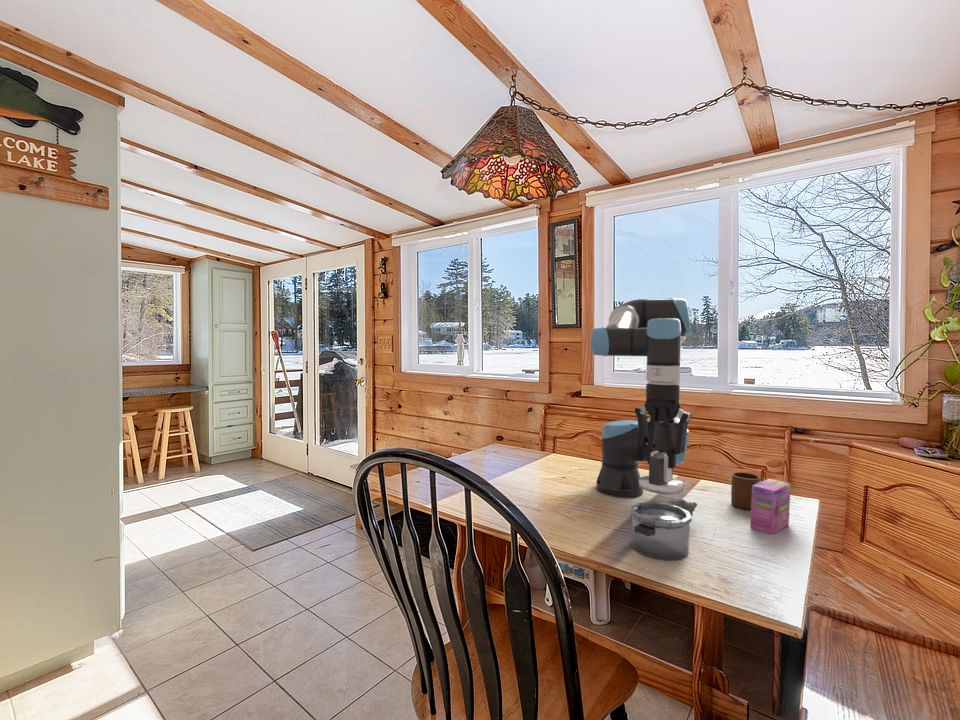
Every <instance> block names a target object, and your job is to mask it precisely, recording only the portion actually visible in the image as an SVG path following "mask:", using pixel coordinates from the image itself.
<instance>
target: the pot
mask: <svg viewBox="0 0 960 720" xmlns="http://www.w3.org/2000/svg"><path fill="white" fill-rule="evenodd" d="M630 516H631V548H632V549H633V550H634V551H636V552H637V553H638V554H640V555H641V556H644V557H647V558H650V559H654V560H661V561H669V562H670V561H680V560H682V559H683V560H684V559H685V558H687V557H688V555H689V553H690V552H689V551H690V550H689V549H690V548H689V546H690V544H689V543H690V523H692V518H693V516H692V517H691V515H690V512H688V511H687V510H685V509H683V508H681V507H679V506H675V505H671V504H667V502H660V501H659V502H658V501H644V502H643V501H642V502H637V503H635V504H633V505H631V506H630Z"/></svg>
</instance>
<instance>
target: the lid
mask: <svg viewBox="0 0 960 720" xmlns="http://www.w3.org/2000/svg"><path fill="white" fill-rule="evenodd" d="M665 454H666V453H665V452H661V453H659V454H656V455H653V456H651V457H649V464H648V475H643V476H640V477H641V478H639V487H640V488H642V489H643V491H647V492H650V493H654V494H661V495H675V494H681V493H682V492H683V491H684V483H683V481H682V480H679V479H677V478H675V477H672V480H671V481H669V482H667V483H666V482H664V455H665ZM673 470H674V468H673V469H672V476H673V475H674V474H673Z"/></svg>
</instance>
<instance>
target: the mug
mask: <svg viewBox="0 0 960 720" xmlns="http://www.w3.org/2000/svg"><path fill="white" fill-rule="evenodd" d="M760 482H761V477H760V476H759V475H757V474H754V473H751V472H750V473H748V472H741V471H739V472H733V473H732V474H731V485H730V487H731V489H730V492H731V493H730V495H731V496H730V500H731V501H730V502H731V505H732V506H734V507H736V508H737V509H742V510H744V511H751V499H752V485H755V484H757V483H760Z"/></svg>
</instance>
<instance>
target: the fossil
mask: <svg viewBox="0 0 960 720" xmlns="http://www.w3.org/2000/svg"><path fill="white" fill-rule="evenodd" d="M666 503H667V504H671V505H675V506H679V507H681V508H683V509H685V510H687V511H688V512H690V515H691V517H692V518H693V515H694V514H693V512H694V511H696V510H695V509H696V507H697V506H698V504H697V502H695V501H693V502H690V501H689V502H688V501H687V500H685V499H682V498H681V499H677V500H675V499H671V500H669V501H667V502H666Z"/></svg>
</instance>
